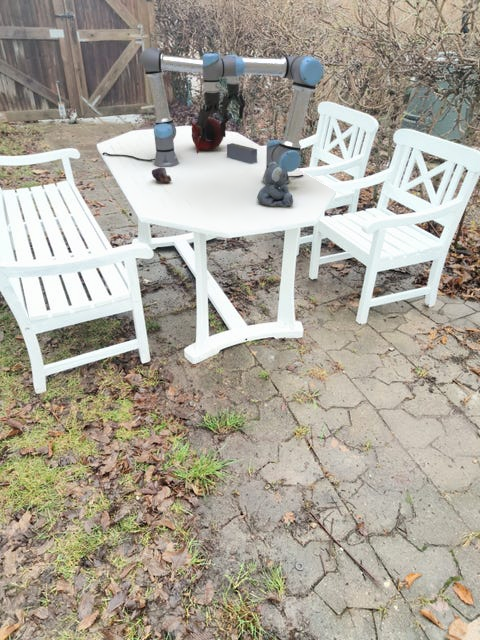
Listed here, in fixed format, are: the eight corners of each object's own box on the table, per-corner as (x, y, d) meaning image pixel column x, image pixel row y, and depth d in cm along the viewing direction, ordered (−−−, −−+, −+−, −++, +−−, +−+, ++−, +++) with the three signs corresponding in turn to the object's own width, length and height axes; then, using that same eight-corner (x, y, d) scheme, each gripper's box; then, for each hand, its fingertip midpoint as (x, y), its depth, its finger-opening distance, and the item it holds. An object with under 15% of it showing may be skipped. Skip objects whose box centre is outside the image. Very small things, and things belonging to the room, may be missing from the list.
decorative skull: (189, 124, 329) (187, 120, 305) (221, 116, 328) (220, 113, 305) (196, 154, 336) (194, 153, 312) (227, 147, 335) (227, 145, 311)
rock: (166, 180, 269) (150, 182, 265) (164, 165, 265) (148, 167, 261) (173, 182, 260) (156, 184, 256) (171, 166, 256) (154, 169, 252)
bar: (227, 157, 307) (226, 144, 302) (232, 155, 310) (232, 143, 305) (251, 163, 293) (251, 150, 288) (256, 162, 296) (257, 149, 291)
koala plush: (294, 207, 227) (296, 168, 215) (258, 208, 226) (259, 169, 214) (288, 196, 241) (290, 158, 230) (255, 197, 240) (255, 159, 229)
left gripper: (222, 85, 271) (223, 123, 283) (251, 81, 285) (250, 117, 297) (214, 84, 276) (215, 121, 288) (242, 80, 290) (243, 116, 302)
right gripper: (197, 95, 202) (200, 144, 214) (235, 89, 217) (236, 135, 229) (186, 94, 206) (189, 142, 218) (224, 88, 221) (225, 133, 233)
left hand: (233, 119), depth 293 cm, fingers open, 13 cm apart
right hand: (213, 139), depth 224 cm, fingers open, 13 cm apart
